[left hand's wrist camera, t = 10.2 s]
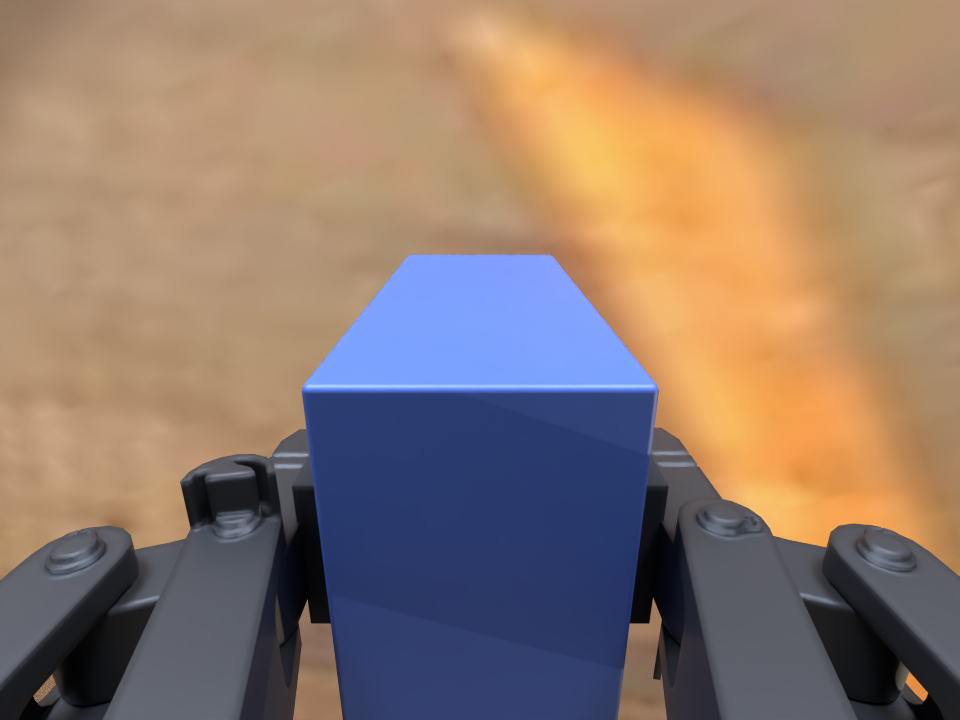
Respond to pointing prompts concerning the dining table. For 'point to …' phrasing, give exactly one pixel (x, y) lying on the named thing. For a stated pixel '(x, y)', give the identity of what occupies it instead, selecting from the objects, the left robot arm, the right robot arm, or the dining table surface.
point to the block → (480, 494)
